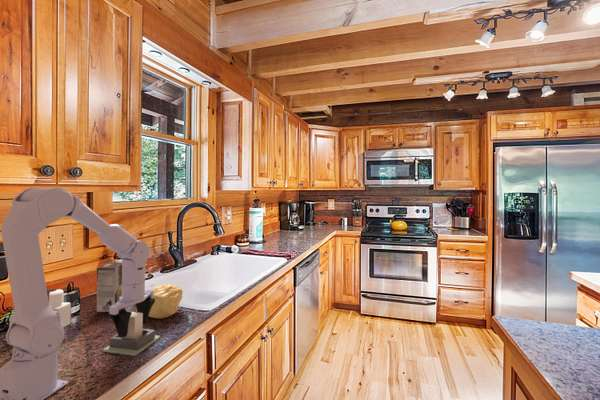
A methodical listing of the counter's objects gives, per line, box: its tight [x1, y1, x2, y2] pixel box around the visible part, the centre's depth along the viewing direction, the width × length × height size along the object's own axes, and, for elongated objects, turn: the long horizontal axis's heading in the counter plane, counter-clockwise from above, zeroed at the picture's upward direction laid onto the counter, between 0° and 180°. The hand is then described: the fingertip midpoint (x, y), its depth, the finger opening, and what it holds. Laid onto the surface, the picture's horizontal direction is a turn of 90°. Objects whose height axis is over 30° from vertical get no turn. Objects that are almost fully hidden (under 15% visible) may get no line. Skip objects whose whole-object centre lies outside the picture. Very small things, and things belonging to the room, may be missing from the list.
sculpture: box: [148, 283, 183, 319], centre depth 103 cm, size 12×12×11 cm
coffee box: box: [96, 261, 122, 313], centre depth 109 cm, size 9×6×16 cm
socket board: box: [102, 328, 161, 357], centre depth 83 cm, size 10×10×3 cm
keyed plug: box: [122, 311, 144, 339], centre depth 83 cm, size 3×5×8 cm, turn 79°
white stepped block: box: [47, 288, 72, 329], centre depth 91 cm, size 7×7×12 cm
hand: (133, 329), depth 83 cm, fingers open, 7 cm apart
